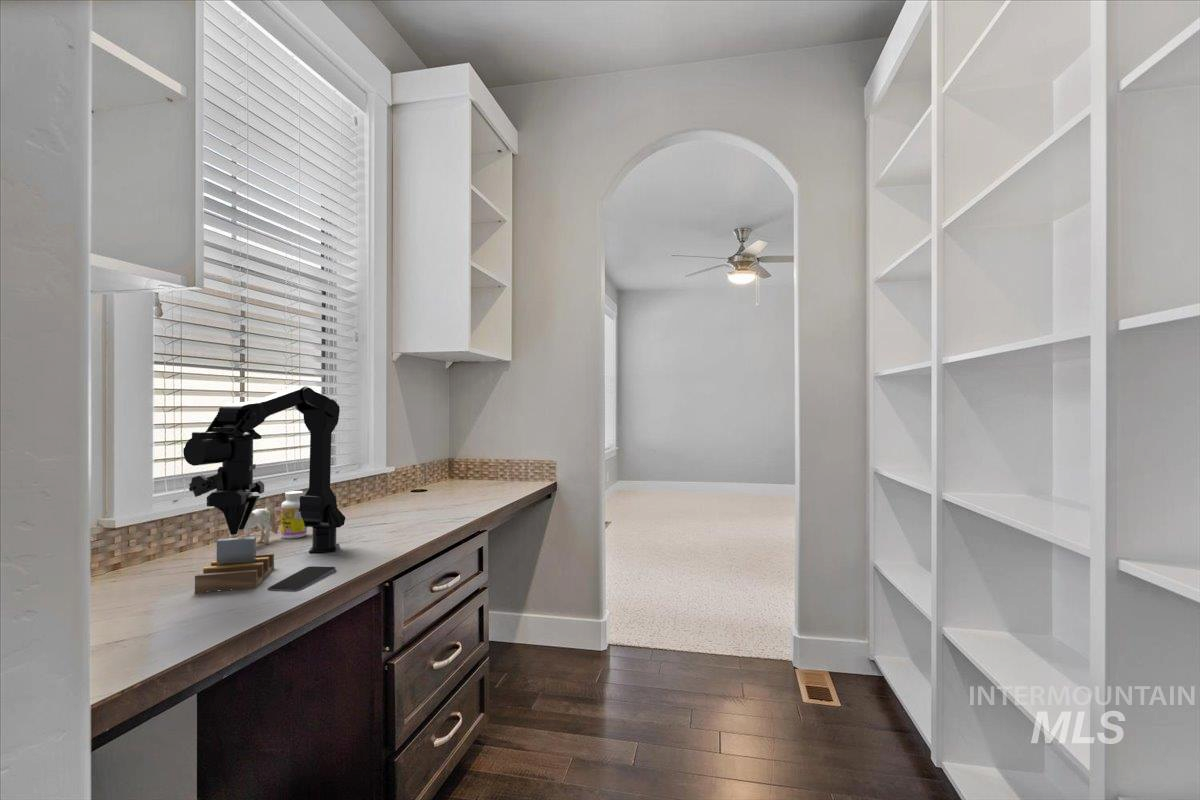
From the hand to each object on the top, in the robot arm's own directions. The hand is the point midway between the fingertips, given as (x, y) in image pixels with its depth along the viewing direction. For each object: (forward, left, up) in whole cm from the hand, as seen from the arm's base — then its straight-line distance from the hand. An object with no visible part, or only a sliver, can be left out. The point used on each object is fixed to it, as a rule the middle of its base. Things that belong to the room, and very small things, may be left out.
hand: (237, 531), depth 125 cm
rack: (0, 0, -10) cm, 10 cm away
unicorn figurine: (-30, -3, -11) cm, 32 cm away
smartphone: (+4, +14, -11) cm, 18 cm away
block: (0, 0, -10) cm, 10 cm away
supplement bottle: (-42, +3, -11) cm, 43 cm away
